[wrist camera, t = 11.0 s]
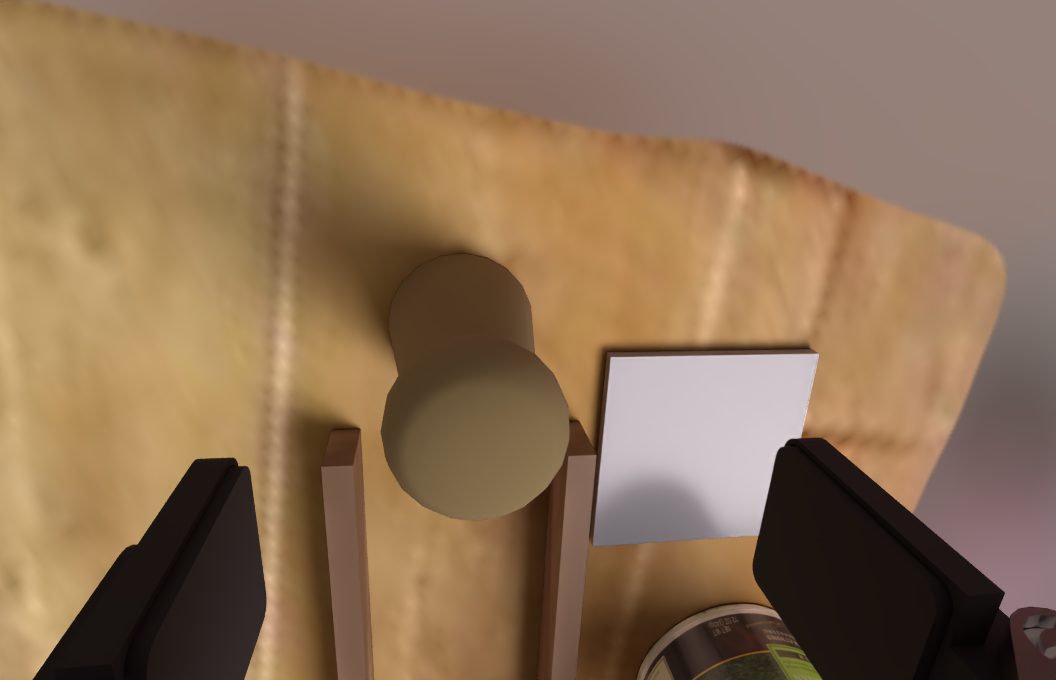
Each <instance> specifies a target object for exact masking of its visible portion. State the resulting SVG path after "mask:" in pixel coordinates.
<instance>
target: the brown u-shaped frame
mask: <svg viewBox="0 0 1056 680" xmlns="http://www.w3.org/2000/svg"><path fill="white" fill-rule="evenodd" d="M569 430H570V433H569V443H568V446H567V450H566V453H565V457H564V460H563V464H562V466H561V467H560V469H559V470H558V472H557V473H556V475H555V476H554V478H553V479H552V481H551V482H550V493H549V508H548V523H547V539H546V554H545V569H544V584H543V599H542V615H541V630H540V645H539V660H538V675H537V680H576V669H577V659H578V648H579V637H580V627H581V616H582V605H583V595H584V584H585V573H586V562H587V552H588V541H589V530H590V520H591V509H592V498H593V488H594V477H595V466H596V456H597V455H596V453H595V451H594V449H593V447H592V445H591V443H590V441H589V439H588V437H587V435H586V433H585V431H584V429H583V427H582V425H581V423H580V421H579V422H569ZM321 473H322V485H323V498H324V510H325V523H326V535H327V548H328V560H329V573H330V585H331V598H332V610H333V623H334V635H335V648H336V660H337V673H338V680H374V670H373V652H372V633H371V614H370V596H369V577H368V558H367V540H366V521H365V502H364V484H363V465H362V447H361V429H346V430H332V431H331V435H330V438H329V442H328V445H327V448H326V452H325V455H324V459H323V462H322V465H321Z"/></svg>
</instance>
